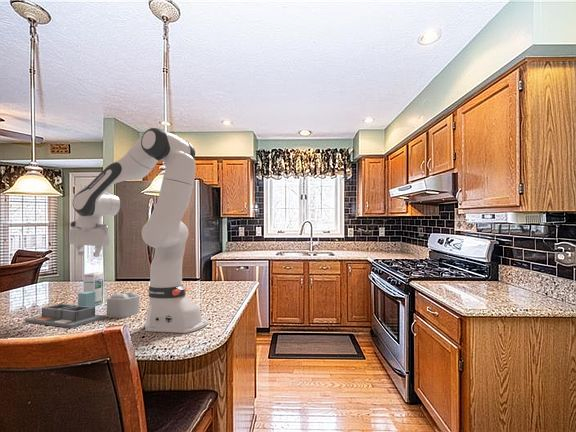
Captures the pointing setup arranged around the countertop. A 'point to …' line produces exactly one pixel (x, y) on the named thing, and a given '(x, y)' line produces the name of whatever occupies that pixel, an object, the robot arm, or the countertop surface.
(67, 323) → the socket board
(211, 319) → the countertop surface
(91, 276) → the syrup box
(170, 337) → the countertop surface
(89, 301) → the teal upright block
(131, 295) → the lumpy-topped squat cylinder
